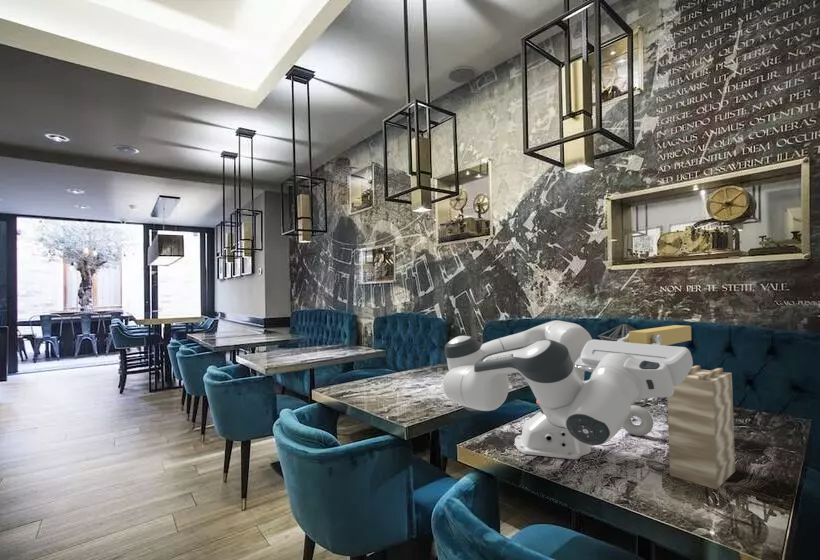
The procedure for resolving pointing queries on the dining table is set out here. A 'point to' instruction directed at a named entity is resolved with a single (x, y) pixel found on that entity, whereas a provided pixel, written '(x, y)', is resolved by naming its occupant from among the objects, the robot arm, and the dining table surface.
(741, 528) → the dining table surface
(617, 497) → the dining table surface
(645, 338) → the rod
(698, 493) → the dining table surface
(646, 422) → the donut
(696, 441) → the plinth
